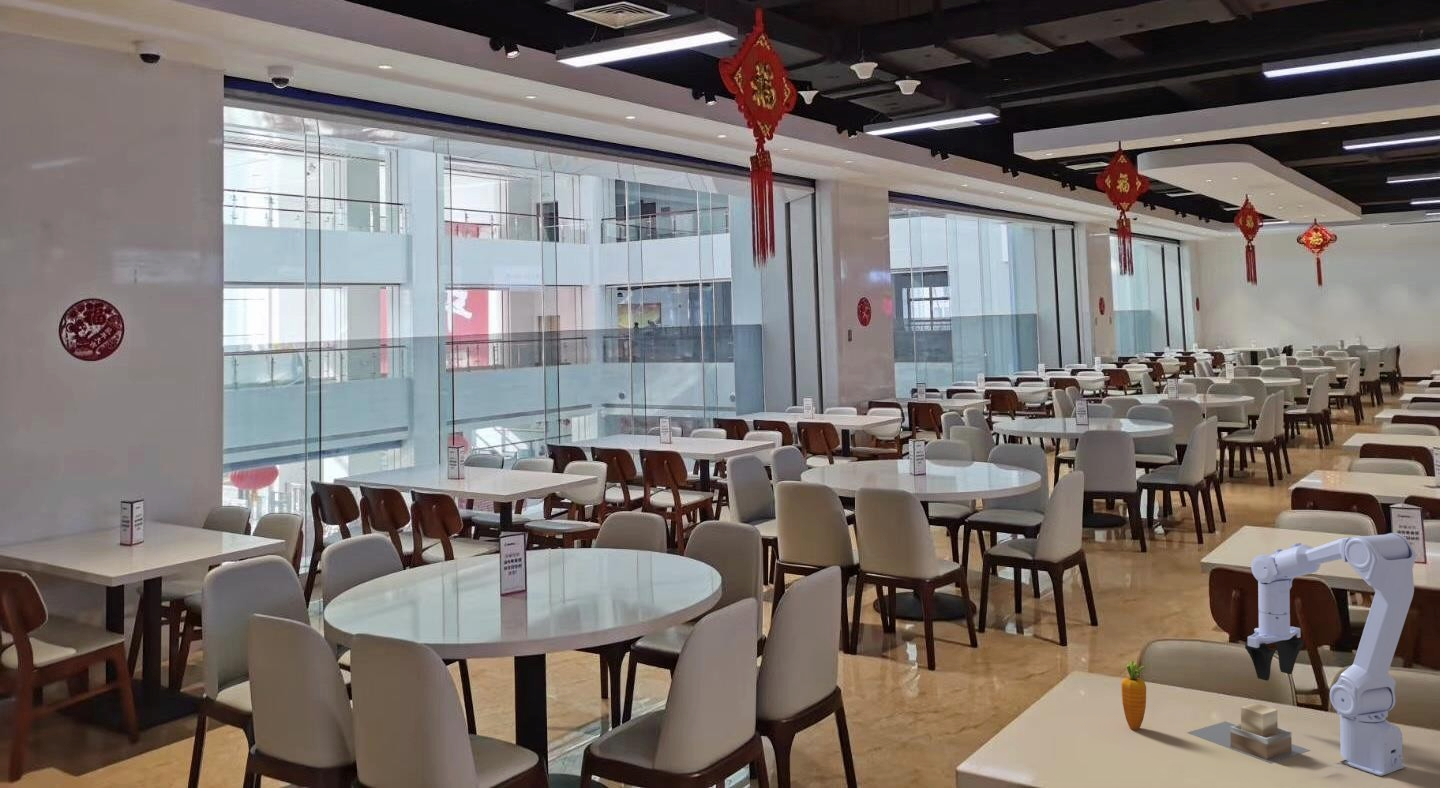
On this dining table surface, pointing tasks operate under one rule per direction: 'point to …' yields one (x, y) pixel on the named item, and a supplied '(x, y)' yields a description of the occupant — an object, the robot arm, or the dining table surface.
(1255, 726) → the maple block
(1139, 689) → the carrot
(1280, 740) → the walnut plinth
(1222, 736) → the board
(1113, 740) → the dining table surface
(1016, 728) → the dining table surface
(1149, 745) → the dining table surface
